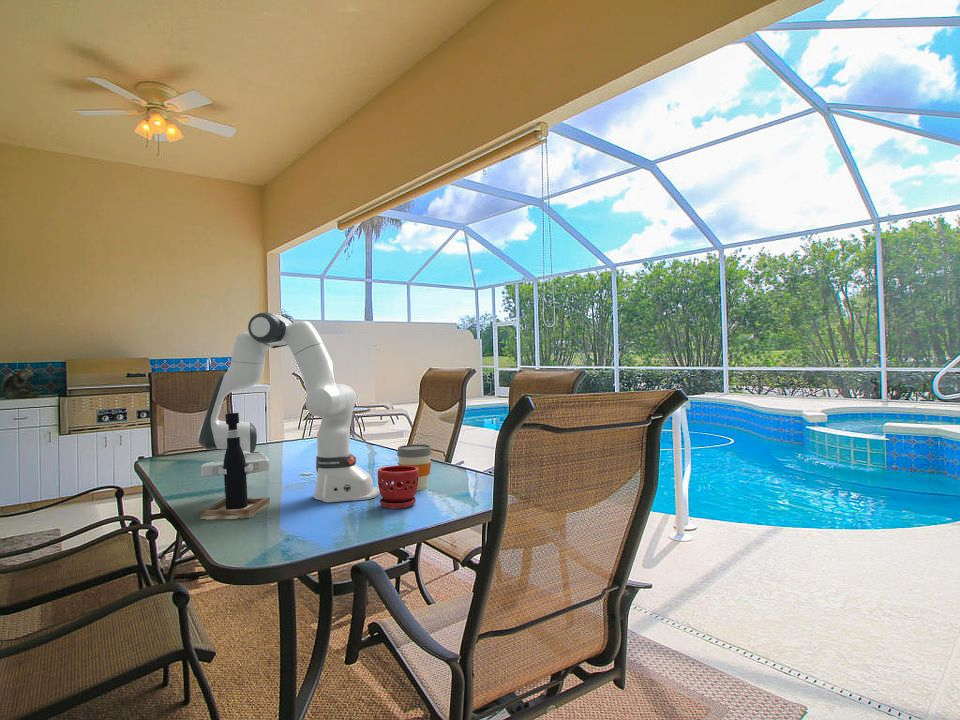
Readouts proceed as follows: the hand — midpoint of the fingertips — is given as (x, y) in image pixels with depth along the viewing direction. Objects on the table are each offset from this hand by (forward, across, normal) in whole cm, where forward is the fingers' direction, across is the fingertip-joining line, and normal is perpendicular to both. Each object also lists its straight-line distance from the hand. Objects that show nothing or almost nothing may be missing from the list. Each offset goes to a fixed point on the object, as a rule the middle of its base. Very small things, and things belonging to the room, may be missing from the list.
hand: (235, 470), depth 165 cm
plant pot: (+17, +48, +14) cm, 52 cm away
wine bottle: (-3, 0, +12) cm, 13 cm away
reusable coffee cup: (-3, +59, +13) cm, 61 cm away
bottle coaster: (-1, 0, +13) cm, 13 cm away
